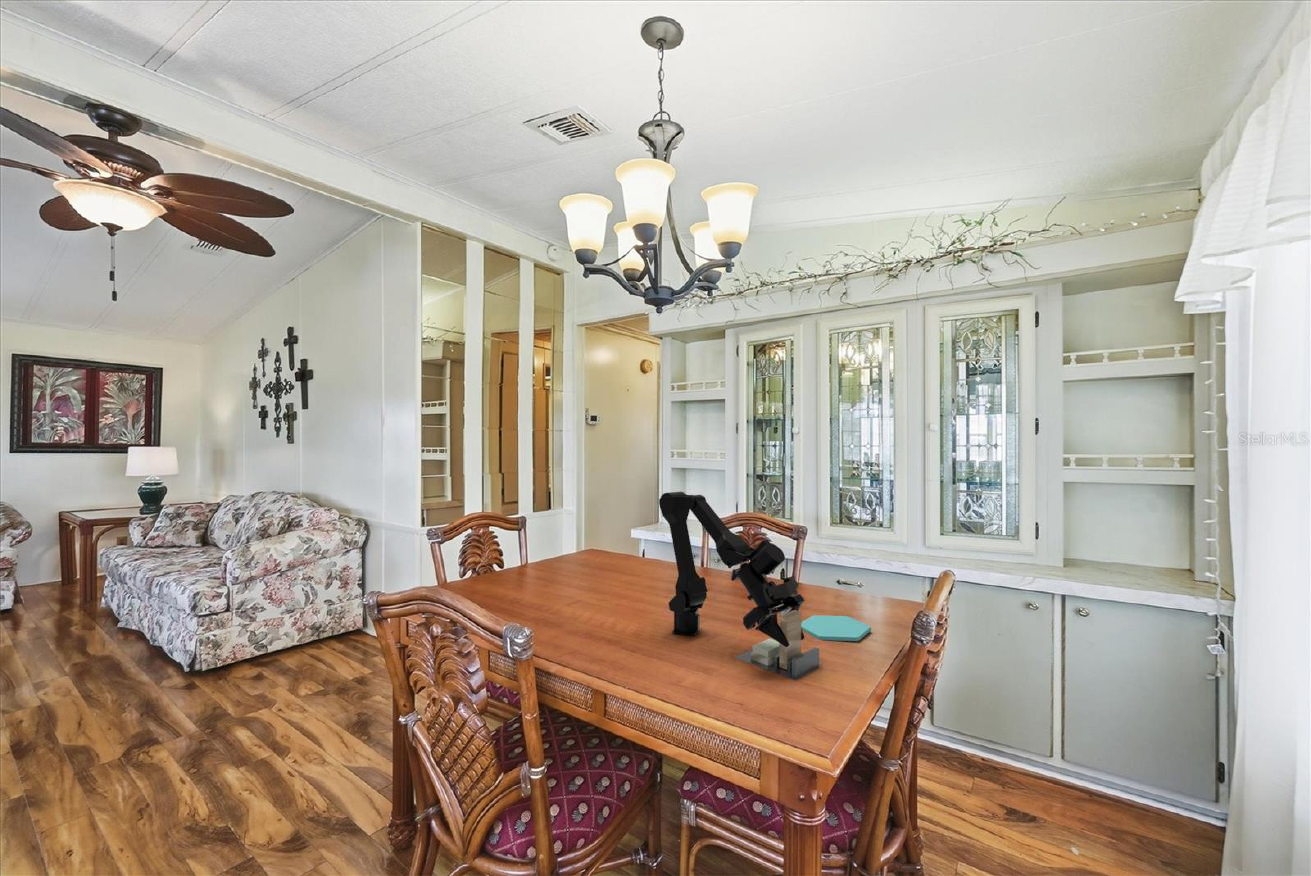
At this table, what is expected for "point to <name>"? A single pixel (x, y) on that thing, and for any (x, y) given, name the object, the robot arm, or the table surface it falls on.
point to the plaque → (835, 628)
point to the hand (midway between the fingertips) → (795, 642)
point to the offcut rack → (789, 664)
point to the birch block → (790, 637)
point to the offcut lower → (763, 658)
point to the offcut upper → (767, 647)
